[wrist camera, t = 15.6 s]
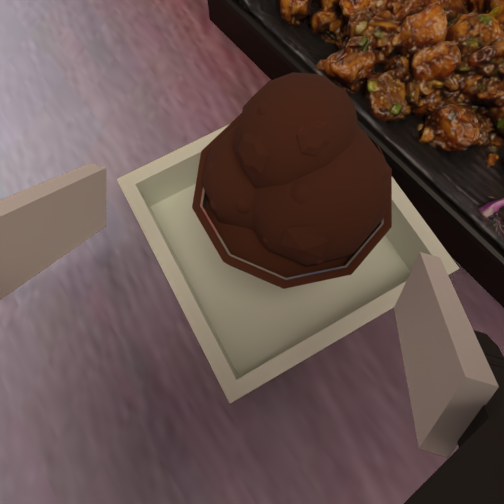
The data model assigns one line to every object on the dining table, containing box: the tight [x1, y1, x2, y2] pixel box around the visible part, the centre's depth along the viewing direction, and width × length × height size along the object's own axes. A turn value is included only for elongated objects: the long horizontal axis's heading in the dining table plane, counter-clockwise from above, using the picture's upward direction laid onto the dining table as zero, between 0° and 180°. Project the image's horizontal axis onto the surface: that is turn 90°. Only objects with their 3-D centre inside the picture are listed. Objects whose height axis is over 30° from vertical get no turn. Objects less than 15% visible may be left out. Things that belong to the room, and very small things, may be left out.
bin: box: [117, 124, 460, 403], centre depth 29 cm, size 17×17×5 cm
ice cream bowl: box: [192, 72, 392, 289], centre depth 23 cm, size 11×11×15 cm
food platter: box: [208, 0, 504, 307], centre depth 30 cm, size 45×25×10 cm, turn 40°
